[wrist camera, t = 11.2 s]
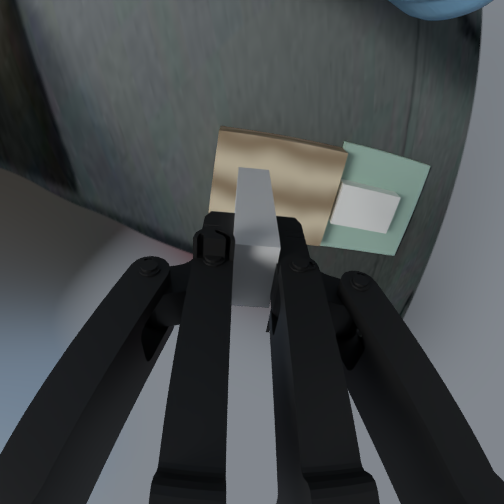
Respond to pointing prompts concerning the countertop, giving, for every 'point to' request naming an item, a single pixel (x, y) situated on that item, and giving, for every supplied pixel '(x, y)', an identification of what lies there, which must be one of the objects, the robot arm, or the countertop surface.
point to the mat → (386, 177)
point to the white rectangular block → (363, 206)
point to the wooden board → (281, 175)
